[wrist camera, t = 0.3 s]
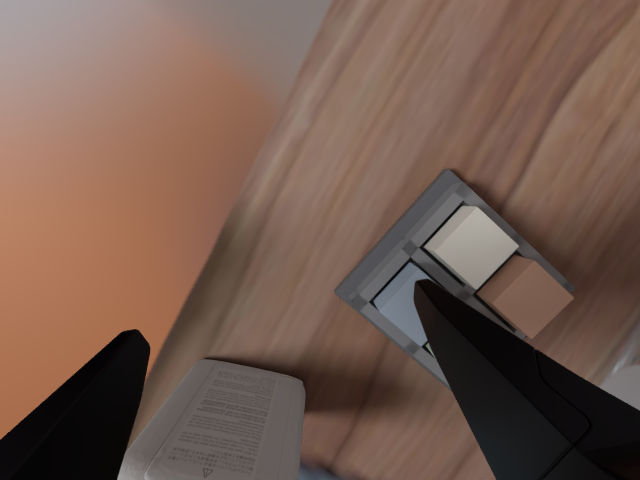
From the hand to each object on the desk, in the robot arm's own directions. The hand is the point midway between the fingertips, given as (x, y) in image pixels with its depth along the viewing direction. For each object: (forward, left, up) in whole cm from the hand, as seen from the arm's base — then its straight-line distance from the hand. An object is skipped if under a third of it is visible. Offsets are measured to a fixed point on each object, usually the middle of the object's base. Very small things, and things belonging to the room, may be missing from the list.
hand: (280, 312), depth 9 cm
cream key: (-9, -8, -12) cm, 17 cm away
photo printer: (-4, +13, -14) cm, 20 cm away
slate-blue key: (-9, -2, -12) cm, 15 cm away
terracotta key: (-14, -8, -12) cm, 20 cm away
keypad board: (-11, -5, -14) cm, 19 cm away
